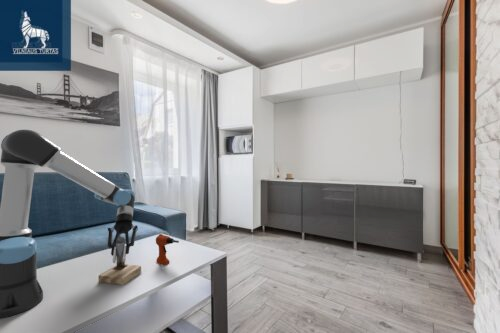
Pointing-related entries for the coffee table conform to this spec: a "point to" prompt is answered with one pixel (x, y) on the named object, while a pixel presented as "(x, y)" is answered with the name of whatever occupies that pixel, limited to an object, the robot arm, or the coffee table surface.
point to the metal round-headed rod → (120, 251)
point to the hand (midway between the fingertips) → (118, 261)
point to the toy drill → (163, 248)
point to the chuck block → (120, 274)
